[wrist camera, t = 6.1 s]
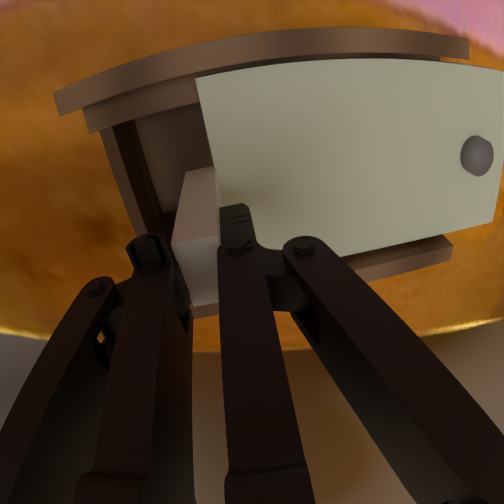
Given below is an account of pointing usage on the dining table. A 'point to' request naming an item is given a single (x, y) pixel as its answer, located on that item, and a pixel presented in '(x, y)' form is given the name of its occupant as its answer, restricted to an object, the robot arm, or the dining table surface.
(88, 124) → the box
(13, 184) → the dining table surface
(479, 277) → the dining table surface
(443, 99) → the lid
